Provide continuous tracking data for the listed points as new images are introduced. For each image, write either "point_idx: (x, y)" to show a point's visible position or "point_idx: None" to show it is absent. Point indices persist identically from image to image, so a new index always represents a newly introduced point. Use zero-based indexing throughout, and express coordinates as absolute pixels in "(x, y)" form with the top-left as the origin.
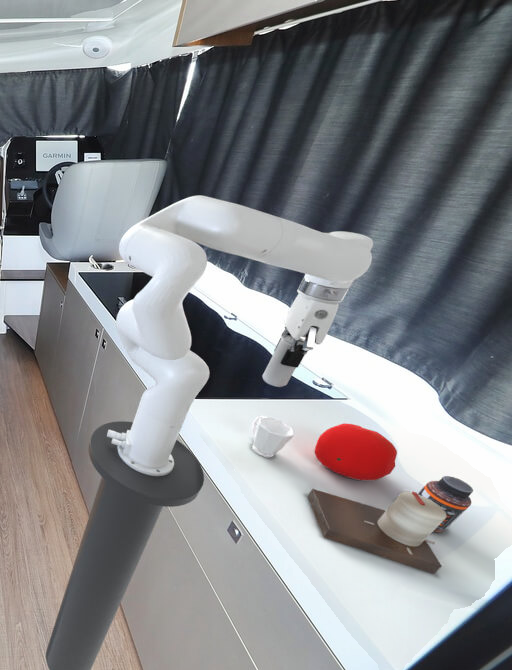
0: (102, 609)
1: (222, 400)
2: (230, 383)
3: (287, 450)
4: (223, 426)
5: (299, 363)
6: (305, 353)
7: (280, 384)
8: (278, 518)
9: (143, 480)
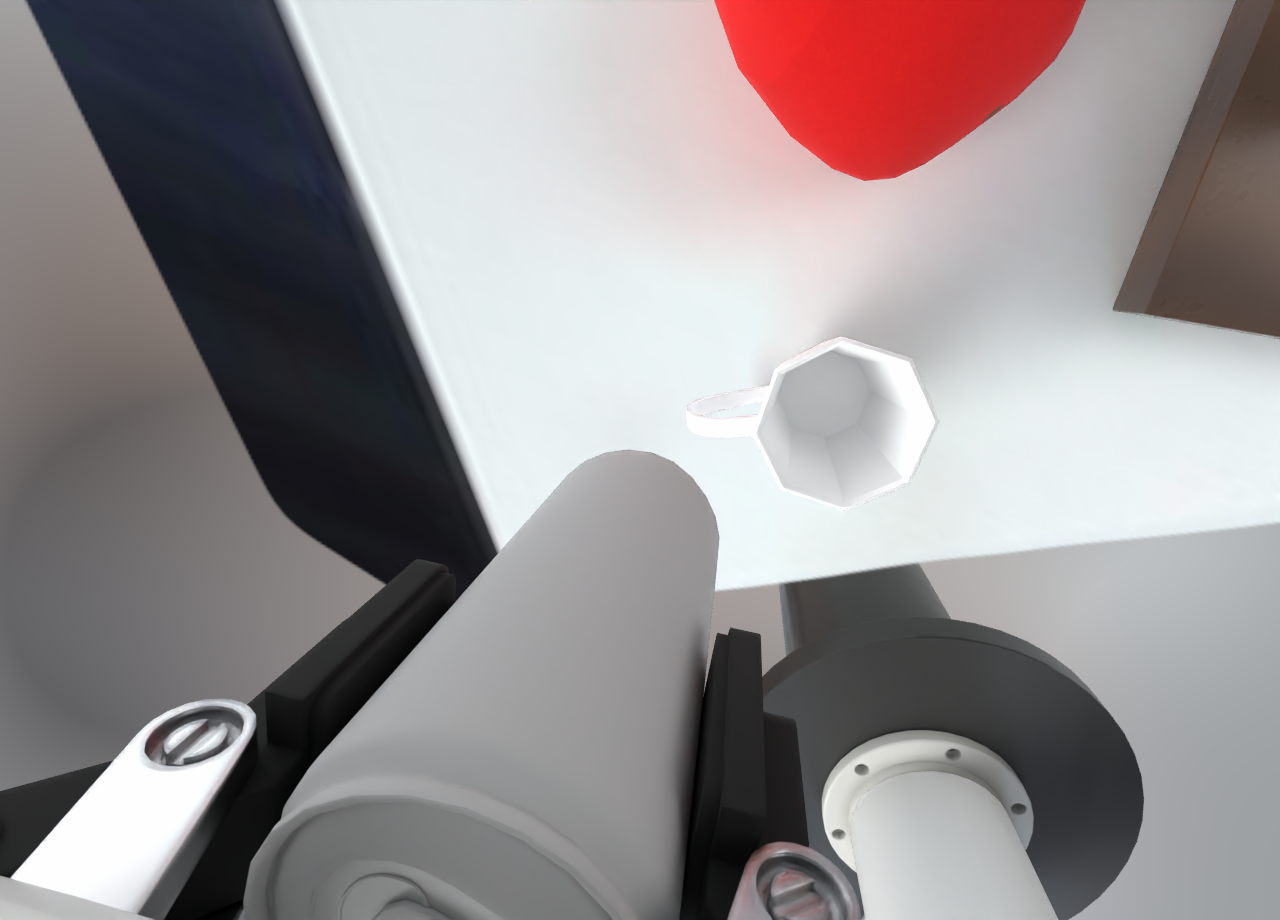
0: None
1: (463, 432)
2: (289, 340)
3: (784, 263)
4: None
5: (758, 670)
6: (853, 905)
7: (718, 537)
8: (1265, 493)
9: (1055, 845)
